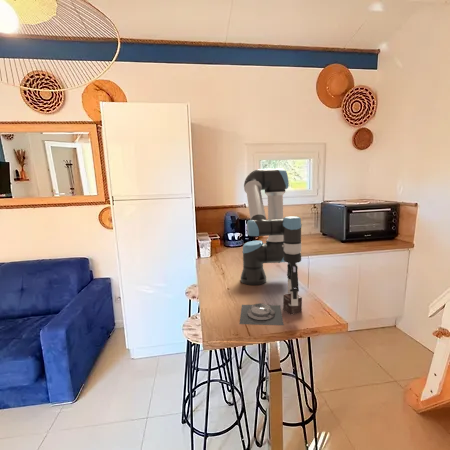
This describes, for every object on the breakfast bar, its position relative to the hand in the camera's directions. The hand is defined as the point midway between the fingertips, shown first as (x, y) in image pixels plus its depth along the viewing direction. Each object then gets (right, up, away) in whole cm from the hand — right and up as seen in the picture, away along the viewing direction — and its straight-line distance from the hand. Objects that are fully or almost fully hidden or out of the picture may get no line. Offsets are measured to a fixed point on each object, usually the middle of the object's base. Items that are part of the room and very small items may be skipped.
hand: (292, 298), depth 123 cm
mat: (-14, -7, -1) cm, 16 cm away
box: (0, -6, +1) cm, 6 cm away
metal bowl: (-14, -6, -1) cm, 16 cm away
